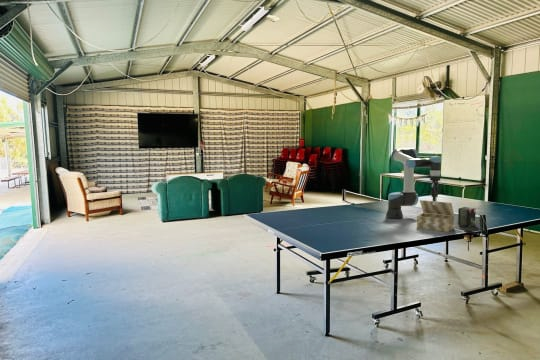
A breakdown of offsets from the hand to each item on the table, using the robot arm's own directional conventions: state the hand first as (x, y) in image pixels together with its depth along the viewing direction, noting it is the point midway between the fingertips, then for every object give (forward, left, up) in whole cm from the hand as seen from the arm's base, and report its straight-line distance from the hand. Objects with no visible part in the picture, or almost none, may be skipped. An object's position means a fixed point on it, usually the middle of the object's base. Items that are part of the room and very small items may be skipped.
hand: (434, 204), depth 283 cm
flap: (0, +5, -4) cm, 6 cm away
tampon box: (+17, +26, -20) cm, 37 cm away
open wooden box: (0, +2, -19) cm, 20 cm away
